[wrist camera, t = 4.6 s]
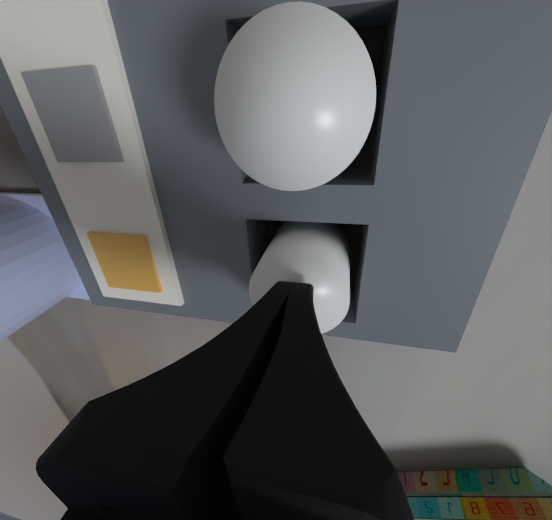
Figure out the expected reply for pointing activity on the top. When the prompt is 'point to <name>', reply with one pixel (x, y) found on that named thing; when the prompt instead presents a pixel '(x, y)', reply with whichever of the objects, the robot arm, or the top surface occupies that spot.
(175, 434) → the robot arm
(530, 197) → the top surface
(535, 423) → the top surface
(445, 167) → the board
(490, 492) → the puzzle game
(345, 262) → the button
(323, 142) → the button middle
